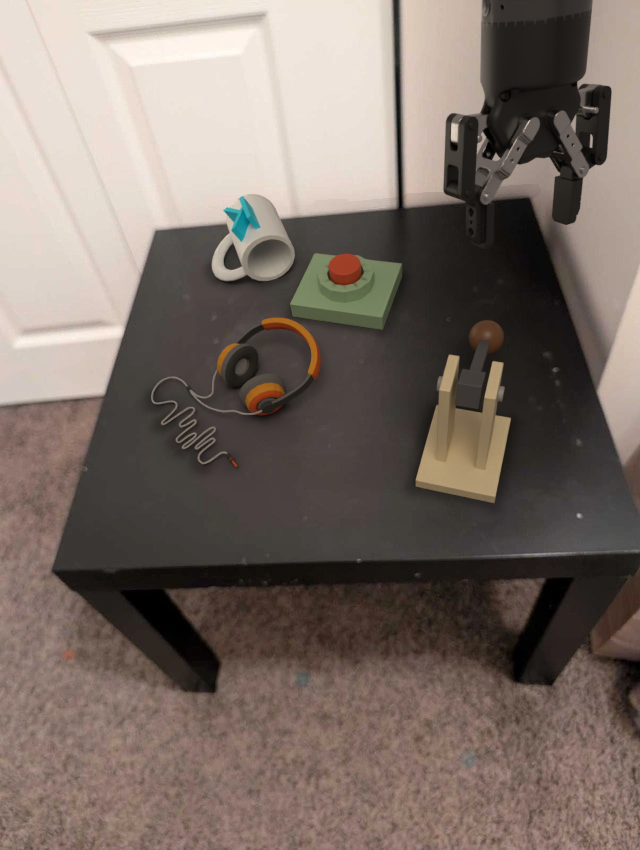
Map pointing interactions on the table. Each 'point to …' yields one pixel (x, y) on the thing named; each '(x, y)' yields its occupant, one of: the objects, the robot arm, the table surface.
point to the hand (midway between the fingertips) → (523, 234)
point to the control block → (347, 293)
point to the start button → (345, 269)
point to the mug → (254, 241)
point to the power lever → (478, 363)
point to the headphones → (250, 380)
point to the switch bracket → (465, 440)
